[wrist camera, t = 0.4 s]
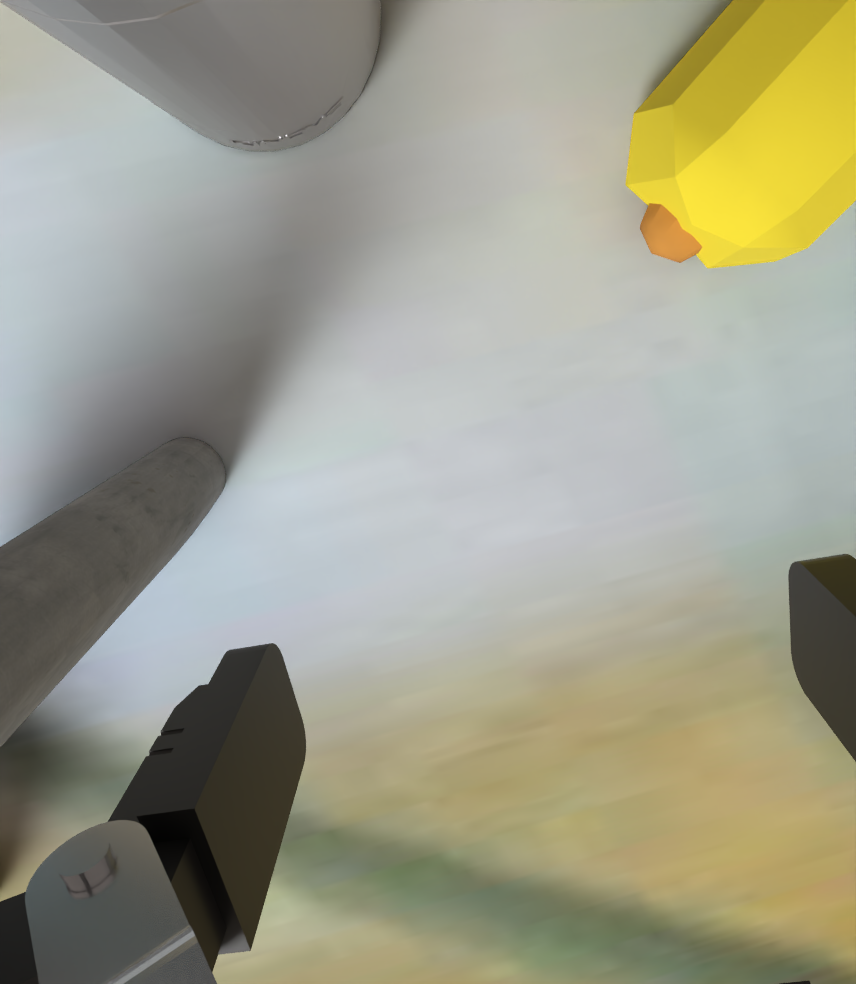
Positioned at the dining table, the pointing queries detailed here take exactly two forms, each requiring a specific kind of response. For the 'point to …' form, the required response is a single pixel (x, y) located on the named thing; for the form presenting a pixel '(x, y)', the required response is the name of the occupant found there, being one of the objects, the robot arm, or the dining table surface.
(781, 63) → the low-poly banana
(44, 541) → the hip flask
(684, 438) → the dining table surface
